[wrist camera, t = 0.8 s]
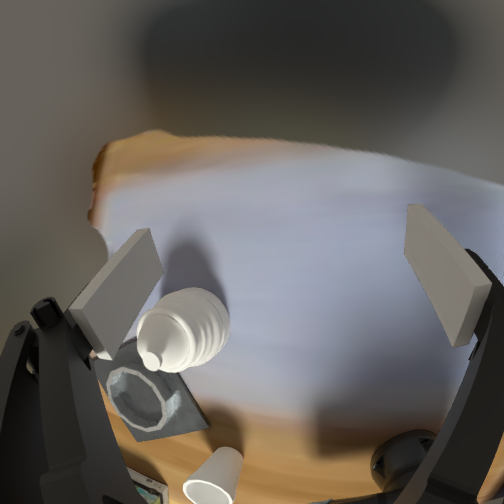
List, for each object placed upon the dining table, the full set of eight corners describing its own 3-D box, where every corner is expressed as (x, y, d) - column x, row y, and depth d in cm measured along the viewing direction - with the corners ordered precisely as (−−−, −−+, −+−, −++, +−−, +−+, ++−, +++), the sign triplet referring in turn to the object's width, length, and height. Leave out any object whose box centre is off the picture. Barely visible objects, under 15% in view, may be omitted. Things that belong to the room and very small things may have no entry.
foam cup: (202, 458, 52) (177, 494, 39) (216, 434, 51) (190, 472, 38) (240, 477, 50) (222, 516, 37) (258, 454, 49) (240, 496, 36)
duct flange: (210, 425, 51) (203, 435, 47) (139, 440, 56) (130, 448, 52) (155, 331, 53) (143, 336, 49) (92, 361, 58) (81, 366, 54)
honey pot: (238, 299, 49) (191, 327, 31) (222, 366, 50) (175, 415, 32) (171, 278, 52) (105, 292, 34) (160, 341, 53) (99, 374, 35)
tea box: (168, 484, 55) (141, 518, 40) (170, 503, 55) (145, 535, 41) (120, 462, 58) (89, 489, 44) (124, 482, 59) (97, 509, 44)
